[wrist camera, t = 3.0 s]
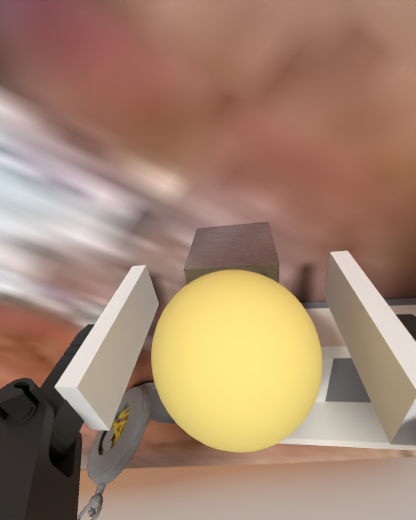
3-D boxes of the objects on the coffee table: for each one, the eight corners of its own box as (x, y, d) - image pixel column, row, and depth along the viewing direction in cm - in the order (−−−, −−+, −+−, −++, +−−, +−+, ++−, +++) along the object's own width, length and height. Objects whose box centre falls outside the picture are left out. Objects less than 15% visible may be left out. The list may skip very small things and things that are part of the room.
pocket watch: (192, 418, 26) (171, 564, 18) (116, 402, 26) (59, 542, 18) (207, 377, 22) (189, 546, 14) (115, 357, 22) (39, 517, 13)
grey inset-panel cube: (207, 283, 16) (199, 332, 13) (197, 229, 14) (184, 269, 11) (269, 280, 15) (278, 330, 12) (268, 222, 13) (279, 263, 10)
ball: (185, 339, 14) (155, 477, 9) (158, 247, 10) (86, 378, 5) (297, 337, 13) (337, 491, 8) (304, 234, 9) (379, 381, 4)
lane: (229, 398, 23) (228, 440, 20) (211, 306, 17) (206, 348, 14) (528, 405, 19) (580, 458, 16) (649, 288, 13) (767, 341, 10)
